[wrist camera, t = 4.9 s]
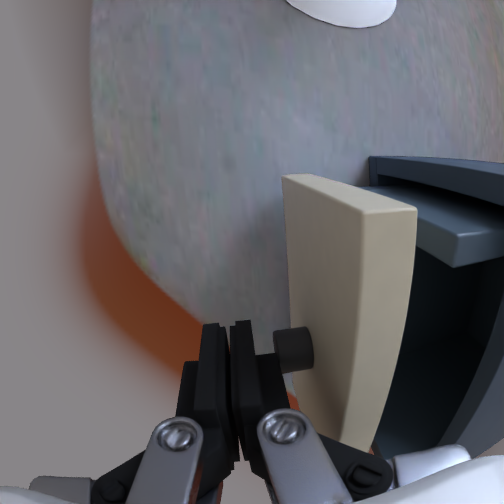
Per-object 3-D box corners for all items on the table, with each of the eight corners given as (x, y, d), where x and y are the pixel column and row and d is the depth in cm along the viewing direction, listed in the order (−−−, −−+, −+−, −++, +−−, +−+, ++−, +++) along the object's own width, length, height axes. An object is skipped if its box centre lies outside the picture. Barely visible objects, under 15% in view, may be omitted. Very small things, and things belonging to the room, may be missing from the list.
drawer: (271, 385, 16) (294, 505, 8) (252, 177, 12) (290, 217, 4) (459, 337, 16) (523, 404, 9) (485, 172, 12) (591, 201, 5)
